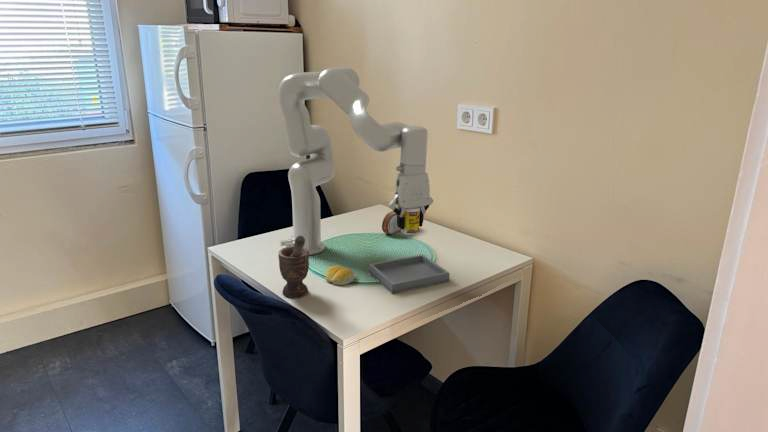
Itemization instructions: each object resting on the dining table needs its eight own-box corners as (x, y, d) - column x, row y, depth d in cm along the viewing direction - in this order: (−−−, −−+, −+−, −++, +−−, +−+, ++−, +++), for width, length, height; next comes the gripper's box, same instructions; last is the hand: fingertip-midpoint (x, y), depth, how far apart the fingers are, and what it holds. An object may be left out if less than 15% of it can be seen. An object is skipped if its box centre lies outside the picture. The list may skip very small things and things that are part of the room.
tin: (403, 225, 212) (403, 205, 210) (409, 227, 211) (410, 206, 208) (380, 235, 201) (381, 214, 198) (387, 237, 199) (388, 216, 196)
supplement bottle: (407, 236, 158) (409, 204, 155) (397, 231, 163) (398, 199, 159) (422, 233, 161) (424, 201, 158) (411, 228, 166) (413, 196, 162)
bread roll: (337, 271, 170) (337, 260, 169) (358, 279, 165) (358, 267, 163) (319, 279, 164) (318, 268, 163) (340, 288, 159) (339, 276, 157)
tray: (392, 293, 156) (392, 284, 155) (368, 272, 169) (368, 264, 168) (448, 281, 164) (449, 272, 163) (422, 262, 178) (422, 254, 177)
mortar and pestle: (322, 296, 153) (321, 231, 147) (298, 306, 147) (296, 239, 141) (298, 283, 161) (295, 221, 154) (274, 292, 155) (271, 228, 148)
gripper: (392, 174, 148) (390, 234, 154) (444, 169, 156) (440, 226, 162) (380, 168, 155) (379, 226, 161) (430, 163, 162) (427, 219, 168)
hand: (409, 226), depth 161 cm, fingers closed on supplement bottle, 5 cm apart
